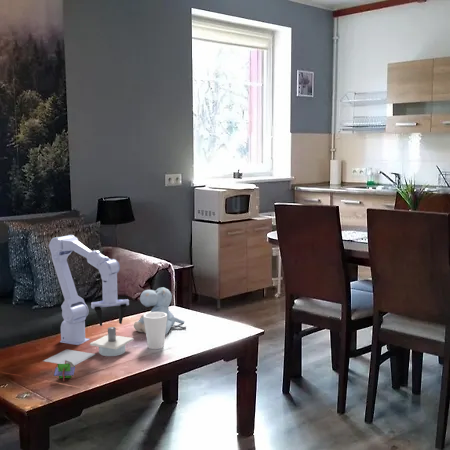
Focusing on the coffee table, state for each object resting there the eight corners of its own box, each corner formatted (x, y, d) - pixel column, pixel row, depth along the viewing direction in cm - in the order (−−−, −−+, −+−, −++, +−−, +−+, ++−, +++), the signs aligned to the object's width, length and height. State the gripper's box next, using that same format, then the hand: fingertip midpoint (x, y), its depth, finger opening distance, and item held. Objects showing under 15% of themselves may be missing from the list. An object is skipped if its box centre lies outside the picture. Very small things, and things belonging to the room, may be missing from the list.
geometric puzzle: (72, 379, 203) (73, 356, 207) (51, 380, 203) (53, 357, 207) (75, 385, 210) (77, 362, 214) (55, 386, 209) (57, 363, 213)
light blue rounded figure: (133, 325, 272) (132, 285, 269) (184, 322, 276) (183, 283, 273) (134, 338, 254) (133, 295, 252) (188, 335, 258) (187, 293, 255)
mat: (42, 361, 226) (42, 360, 226) (66, 350, 239) (66, 349, 239) (73, 367, 221) (73, 366, 221) (96, 355, 233) (96, 354, 233)
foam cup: (163, 351, 238) (162, 318, 236) (141, 349, 240) (140, 317, 238) (170, 343, 247) (169, 312, 245) (148, 341, 249) (148, 311, 247)
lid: (90, 345, 233) (89, 330, 232) (108, 336, 244) (107, 322, 243) (116, 349, 228) (115, 334, 227) (133, 340, 239) (133, 325, 238)
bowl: (94, 354, 234) (93, 344, 233) (109, 346, 243) (108, 337, 242) (115, 358, 230) (115, 348, 229) (130, 350, 239) (130, 340, 238)
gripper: (92, 294, 231) (93, 329, 232) (130, 291, 236) (130, 325, 237) (89, 290, 237) (90, 323, 239) (126, 287, 242) (127, 320, 244)
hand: (110, 324), depth 239 cm, fingers open, 7 cm apart
